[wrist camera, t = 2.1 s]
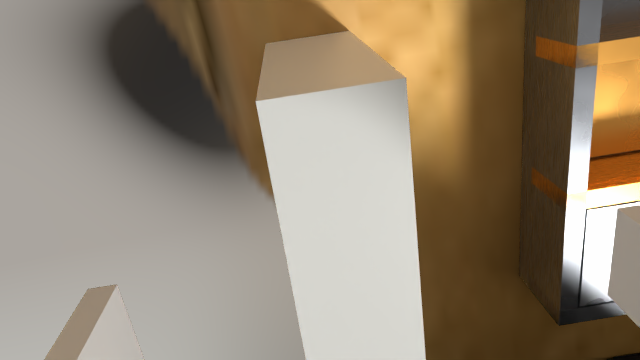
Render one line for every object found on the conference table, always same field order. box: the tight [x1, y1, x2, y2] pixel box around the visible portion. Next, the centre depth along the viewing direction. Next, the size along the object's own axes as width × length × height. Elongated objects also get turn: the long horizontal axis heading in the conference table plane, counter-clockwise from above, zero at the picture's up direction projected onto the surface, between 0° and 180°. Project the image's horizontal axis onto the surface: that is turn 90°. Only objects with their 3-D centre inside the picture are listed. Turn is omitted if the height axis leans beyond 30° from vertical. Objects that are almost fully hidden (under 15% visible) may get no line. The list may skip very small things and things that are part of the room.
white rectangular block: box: [256, 31, 426, 360], centre depth 18 cm, size 4×11×10 cm, turn 8°
